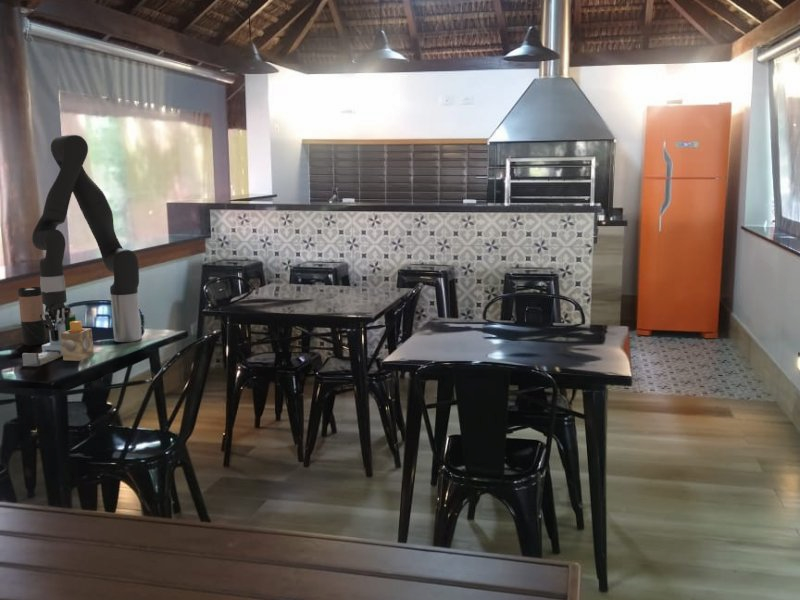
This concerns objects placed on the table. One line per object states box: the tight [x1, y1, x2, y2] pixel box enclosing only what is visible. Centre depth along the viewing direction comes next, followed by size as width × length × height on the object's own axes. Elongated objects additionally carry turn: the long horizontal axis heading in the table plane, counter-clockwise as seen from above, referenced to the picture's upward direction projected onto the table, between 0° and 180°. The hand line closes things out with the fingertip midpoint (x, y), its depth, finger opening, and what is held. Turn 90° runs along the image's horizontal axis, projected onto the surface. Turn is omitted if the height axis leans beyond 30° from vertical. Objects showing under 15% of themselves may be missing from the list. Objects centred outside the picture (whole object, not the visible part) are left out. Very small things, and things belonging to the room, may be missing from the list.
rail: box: [21, 350, 63, 368], centre depth 251 cm, size 23×5×4 cm, turn 170°
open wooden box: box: [61, 327, 95, 362], centre depth 250 cm, size 8×6×9 cm
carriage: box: [41, 323, 66, 355], centre depth 254 cm, size 7×8×10 cm
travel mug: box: [17, 286, 47, 346], centre depth 270 cm, size 8×8×20 cm
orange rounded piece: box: [70, 320, 83, 333], centre depth 249 cm, size 4×4×5 cm
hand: (58, 339), depth 254 cm, fingers open, 2 cm apart
